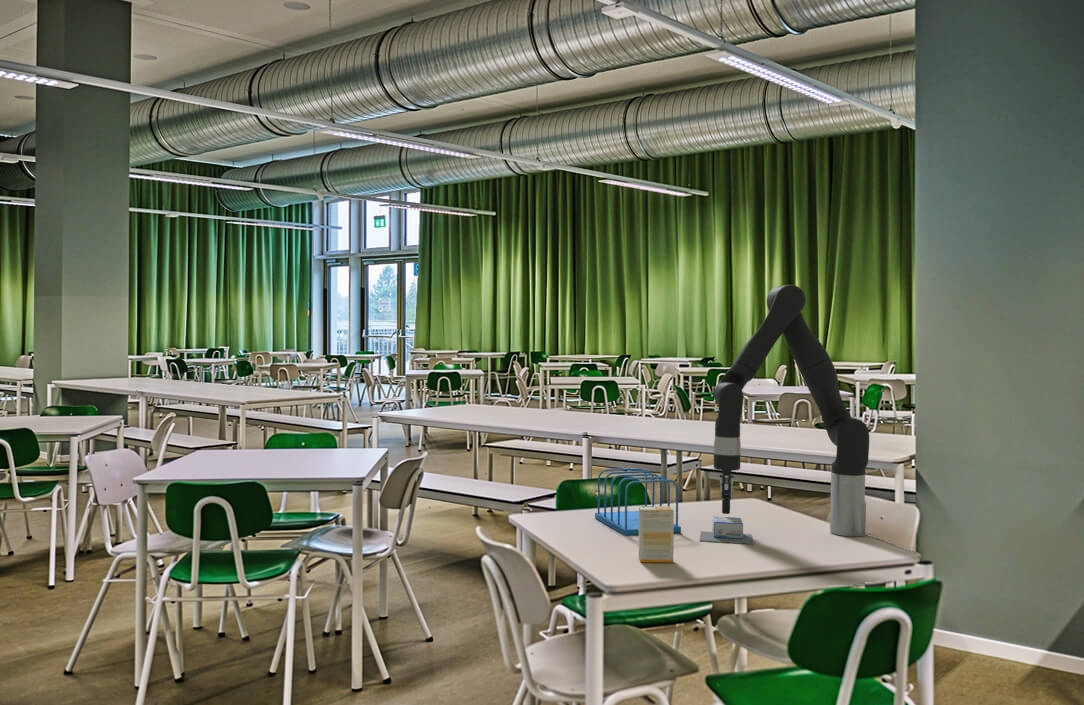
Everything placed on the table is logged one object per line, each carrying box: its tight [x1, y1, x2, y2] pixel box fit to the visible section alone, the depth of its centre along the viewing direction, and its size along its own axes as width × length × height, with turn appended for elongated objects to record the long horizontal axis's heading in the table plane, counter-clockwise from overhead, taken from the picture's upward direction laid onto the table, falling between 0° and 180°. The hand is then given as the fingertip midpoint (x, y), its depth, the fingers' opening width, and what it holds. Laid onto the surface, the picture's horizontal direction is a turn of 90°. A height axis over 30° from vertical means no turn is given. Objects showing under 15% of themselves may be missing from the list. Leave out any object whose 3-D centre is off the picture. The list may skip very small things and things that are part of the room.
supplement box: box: [638, 505, 675, 564], centre depth 214 cm, size 8×5×13 cm, turn 88°
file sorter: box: [594, 467, 682, 536], centre depth 258 cm, size 25×17×15 cm
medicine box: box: [712, 516, 744, 539], centre depth 244 cm, size 8×4×9 cm
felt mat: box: [699, 530, 754, 545], centre depth 242 cm, size 14×12×1 cm
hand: (725, 513), depth 249 cm, fingers closed
